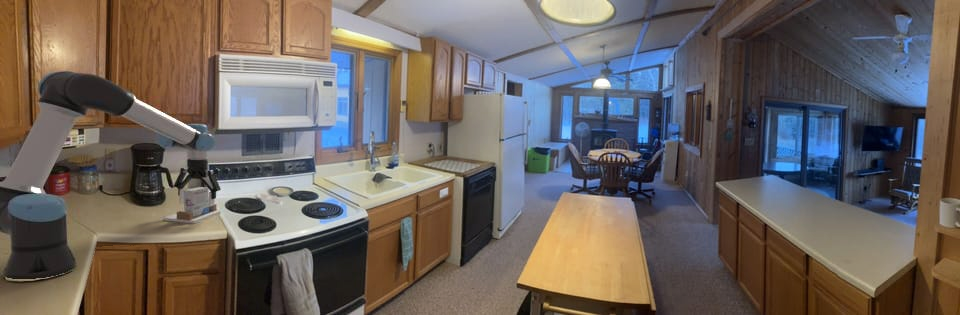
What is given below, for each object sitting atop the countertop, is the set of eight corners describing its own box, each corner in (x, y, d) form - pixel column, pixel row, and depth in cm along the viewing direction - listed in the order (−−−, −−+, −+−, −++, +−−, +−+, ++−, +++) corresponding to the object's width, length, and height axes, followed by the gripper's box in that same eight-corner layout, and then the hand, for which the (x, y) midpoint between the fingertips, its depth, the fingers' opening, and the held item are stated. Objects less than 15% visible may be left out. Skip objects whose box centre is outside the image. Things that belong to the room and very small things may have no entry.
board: (194, 223, 180) (194, 214, 179) (163, 220, 180) (163, 211, 180) (220, 213, 197) (220, 204, 196) (192, 210, 197) (192, 201, 197)
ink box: (200, 210, 193) (200, 186, 191) (209, 212, 192) (209, 187, 190) (183, 215, 185) (183, 189, 183) (193, 217, 184) (192, 191, 182)
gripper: (229, 159, 188) (229, 205, 191) (176, 154, 189) (177, 199, 192) (218, 162, 181) (218, 209, 183) (163, 156, 182) (163, 203, 184)
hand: (197, 204), depth 188 cm, fingers open, 13 cm apart
